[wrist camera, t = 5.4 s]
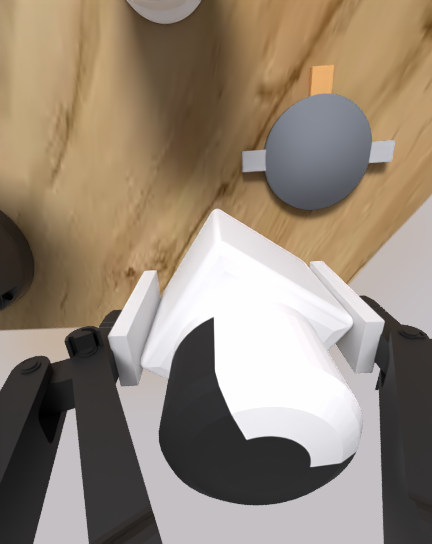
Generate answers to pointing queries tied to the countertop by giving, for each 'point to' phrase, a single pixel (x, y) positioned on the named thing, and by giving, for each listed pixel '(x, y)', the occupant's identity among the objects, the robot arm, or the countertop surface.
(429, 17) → the countertop surface
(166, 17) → the jar
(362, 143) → the pad
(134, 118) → the countertop surface
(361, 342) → the robot arm
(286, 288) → the medicine bottle
